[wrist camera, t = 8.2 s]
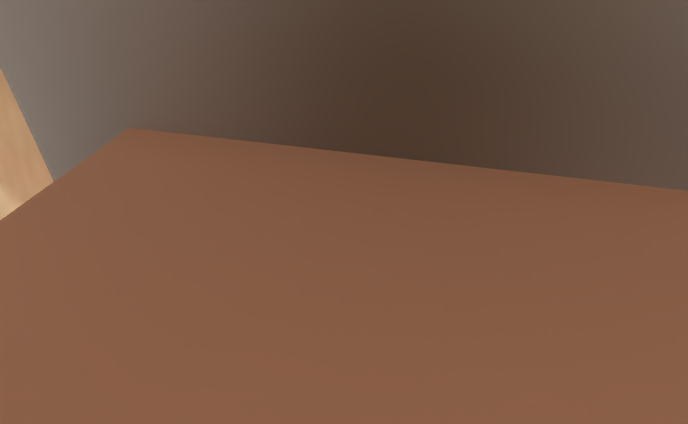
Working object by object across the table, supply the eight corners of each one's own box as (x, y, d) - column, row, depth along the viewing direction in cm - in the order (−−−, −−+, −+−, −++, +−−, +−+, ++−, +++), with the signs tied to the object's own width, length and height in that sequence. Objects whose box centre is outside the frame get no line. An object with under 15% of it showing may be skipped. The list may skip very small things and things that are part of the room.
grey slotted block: (916, -294, 5) (1321, -336, 2) (668, 461, 10) (666, 744, 7) (217, -194, 7) (-98, -145, 4) (330, 371, 13) (229, 556, 10)
